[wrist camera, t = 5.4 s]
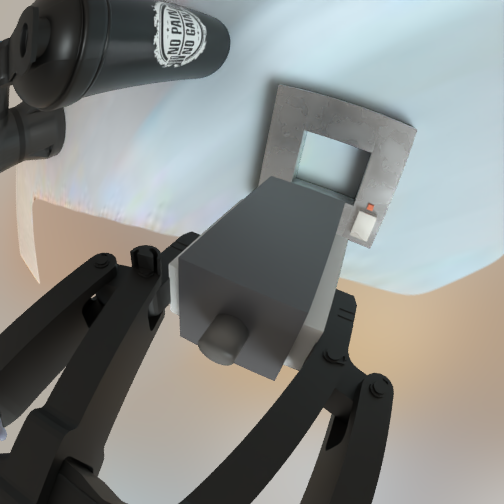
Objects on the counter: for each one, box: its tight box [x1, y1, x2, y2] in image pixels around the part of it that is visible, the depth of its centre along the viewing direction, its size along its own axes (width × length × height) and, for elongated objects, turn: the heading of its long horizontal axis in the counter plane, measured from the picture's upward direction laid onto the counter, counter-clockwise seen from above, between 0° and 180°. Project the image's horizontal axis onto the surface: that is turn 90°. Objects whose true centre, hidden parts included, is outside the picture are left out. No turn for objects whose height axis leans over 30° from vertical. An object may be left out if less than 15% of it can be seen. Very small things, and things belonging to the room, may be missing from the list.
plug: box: [178, 176, 345, 381], centre depth 13 cm, size 4×4×10 cm
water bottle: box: [0, 0, 230, 112], centre depth 17 cm, size 10×10×23 cm
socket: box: [258, 85, 417, 248], centre depth 27 cm, size 14×14×3 cm
